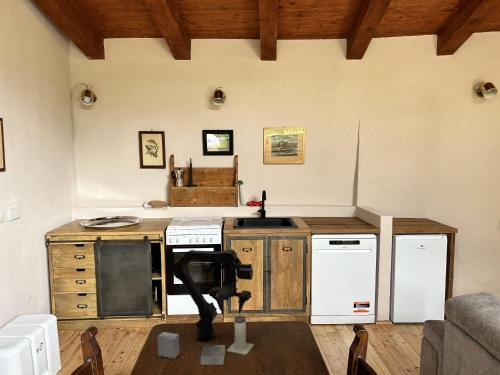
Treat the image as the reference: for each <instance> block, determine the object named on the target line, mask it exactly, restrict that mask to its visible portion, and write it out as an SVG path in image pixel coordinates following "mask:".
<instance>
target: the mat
mask: <svg viewBox="0 0 500 375" xmlns="http://www.w3.org/2000/svg"><path fill="white" fill-rule="evenodd" d="M254 345H255V343H249V342H246V348H245V349H243V350H237V349H235V341H233V342H232V344H231V345H230V346H229V347H228V349H226V352H229V353H234V354H239V355H242V356H243V355H244V356H247V355H248V354H249V352H250V351H251V350H252V349H253V347H254Z"/></svg>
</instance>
